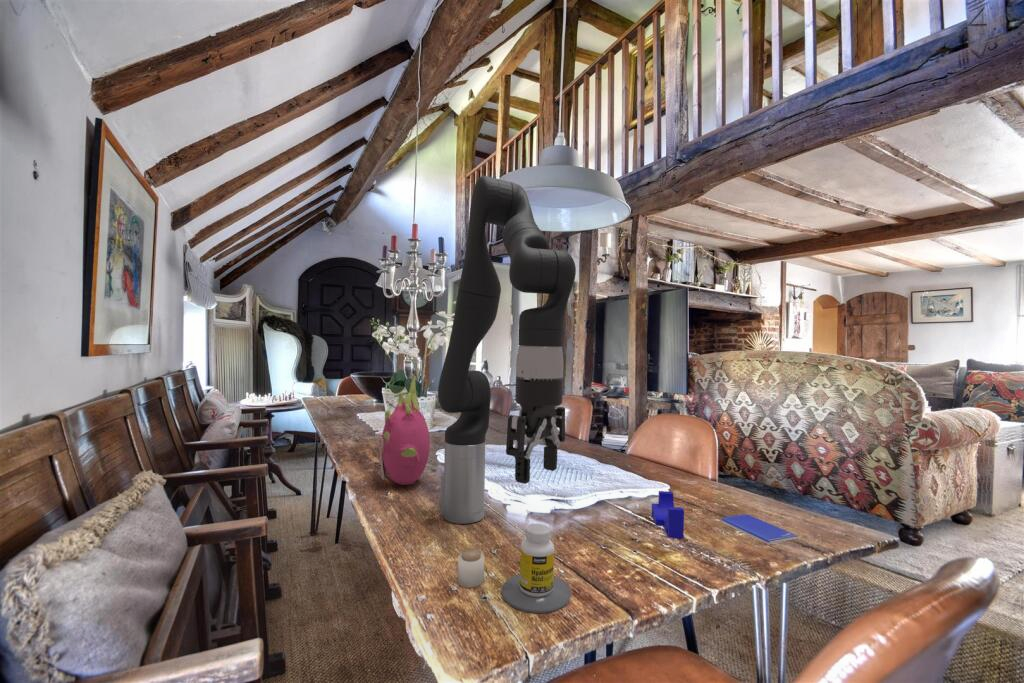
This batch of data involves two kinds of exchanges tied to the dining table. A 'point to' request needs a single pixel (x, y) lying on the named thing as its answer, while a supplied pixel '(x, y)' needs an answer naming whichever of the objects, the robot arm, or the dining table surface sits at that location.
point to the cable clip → (668, 515)
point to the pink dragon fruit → (404, 440)
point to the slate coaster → (536, 604)
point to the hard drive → (758, 529)
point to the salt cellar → (471, 568)
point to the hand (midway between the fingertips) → (536, 475)
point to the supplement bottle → (537, 561)
